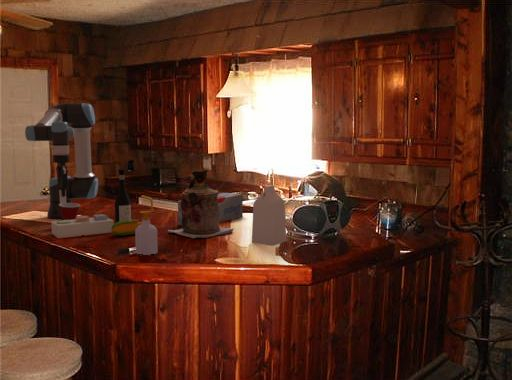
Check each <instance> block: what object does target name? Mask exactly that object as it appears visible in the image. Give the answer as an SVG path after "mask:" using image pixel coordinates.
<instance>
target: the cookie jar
mask: <svg viewBox="0 0 512 380" xmlns="http://www.w3.org/2000/svg"><path fill="white" fill-rule="evenodd" d="M208 179H209V178H208V169H207V168H205V169H204V170H194V171H192V172H191V174H188V175H186V182H187V184H189V185H188V188H186V189H185V190H184V191H183V192H182V193H181V195H180V196H181V197H180V201H181V204H180V206H181V207H180V209H181V213H182V223H181V224H182V226H181V228H180V229H174V230H173V229H168V230H167V232H168V233H175V234H177V235H180V236H182V237H188V238H190V239H193V240H194V239H196V238H202V239H203V238H204V239H206V238H210V237H215V236H220V235H226V234H233V233H234V232H233V231H234V228H228V227H227V228H226V227H220V225H219V224H220V222H219V221H220V215H219V207H218V199H217V196H218V194H220V193H219V191H218V190H216V189H213V188H210V187H209V186H208V185H207V181H208Z"/></svg>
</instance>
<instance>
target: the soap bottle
mask: <svg viewBox="0 0 512 380" xmlns="http://www.w3.org/2000/svg"><path fill="white" fill-rule="evenodd" d="M140 197H141V198H143V199H145V200H149V201H150V210H141V211H139V213H140V214H142V215H141V216H143V217H142V218H141V222H142V224H141V225H140V226H138V227H137V228H136V230H135V234H134V235H135V254H136V253H137V254H136V255H138V254H143V255H148V256H152V255H151V254H154V255H157V253H158V252H159V251H158V247H159V246H158V229H157V227H156V226H155V225H153V224H151V218H149V215H150V214H151V213H152V212H153V211H154V201H153V198H152V197H151V196H147V195H143V194H142V195H141V196H140Z"/></svg>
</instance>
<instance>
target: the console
mask: <svg viewBox="0 0 512 380" xmlns="http://www.w3.org/2000/svg"><path fill="white" fill-rule="evenodd" d="M57 221H58V220H53V221H51V222H50V223H51V224H50V225H51V234H52V235H53V236H54V237H55V238H57V239H64V238H73V237H81V236H82V235H84V236H91V235H100V234H110V233H112V229H111V228H112V226H113V225H114V224H115V223H114V221H115V219H114V220H113V219H111V218H109V217H107V220H99V221H96V220H94V217H89V221H85V222H76V219H73V220H69V221H71V223H68V224H58V223H57Z"/></svg>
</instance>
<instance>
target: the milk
mask: <svg viewBox="0 0 512 380" xmlns="http://www.w3.org/2000/svg"><path fill="white" fill-rule="evenodd" d="M252 206H253V207H252V224H251V225H252V227H251V228H252V230H251V231H252V232H251V244H257V245H264V246H269V247H270V246H271V247H274V246H277V245H280V244H282V243H284V242H285V243H286V242H287V225H286V222H287V221H286V205H285V200H284V199H283V197H281V196H280V195H279V194H278V193H277V192H276V189H275V185H273V184H271V185H266V186H265V185H264V189H263V193H261V194H260V195H259V197H257V198H256V199H255V201H254V202H253V204H252Z"/></svg>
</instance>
